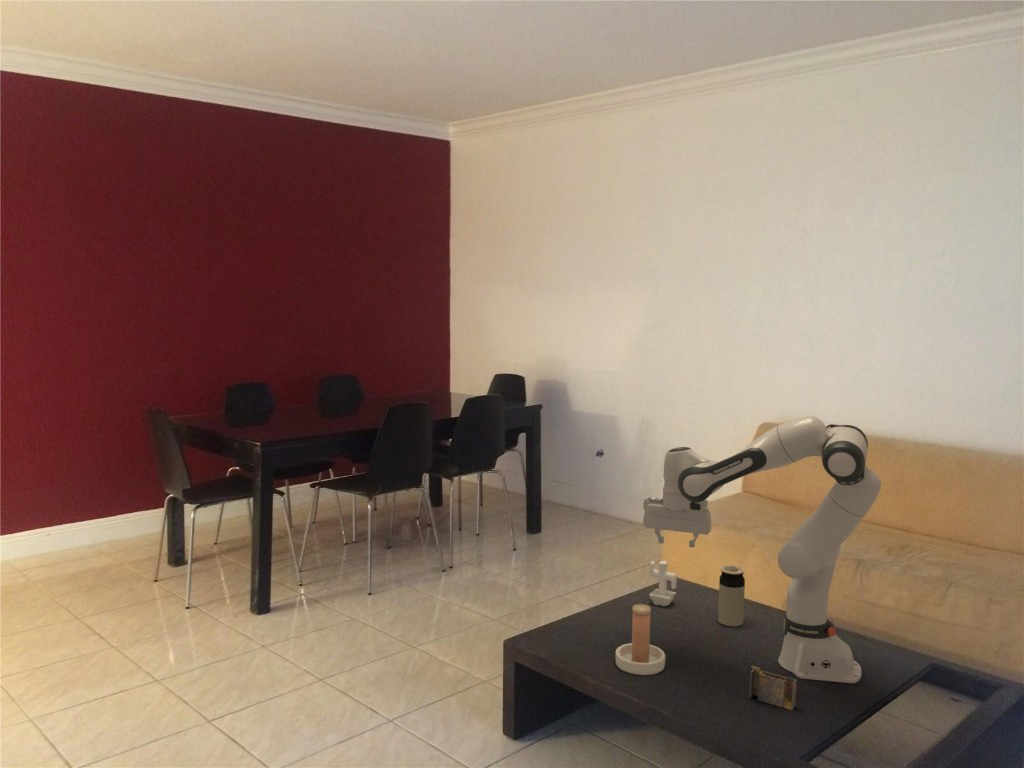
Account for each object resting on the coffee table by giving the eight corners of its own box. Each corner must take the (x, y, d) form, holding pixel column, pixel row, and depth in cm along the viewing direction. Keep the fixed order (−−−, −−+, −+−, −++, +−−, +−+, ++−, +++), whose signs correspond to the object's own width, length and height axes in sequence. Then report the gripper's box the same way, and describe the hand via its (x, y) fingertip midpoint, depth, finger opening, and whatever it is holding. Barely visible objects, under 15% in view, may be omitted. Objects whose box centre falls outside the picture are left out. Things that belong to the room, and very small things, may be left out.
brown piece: (748, 700, 221) (750, 665, 220) (752, 695, 224) (753, 661, 223) (792, 712, 215) (793, 676, 214) (795, 707, 218) (796, 672, 217)
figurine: (671, 609, 281) (673, 567, 280) (645, 604, 286) (646, 562, 284) (679, 603, 287) (680, 561, 286) (653, 597, 292) (654, 556, 290)
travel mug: (719, 626, 268) (721, 572, 266) (716, 616, 276) (718, 564, 274) (744, 627, 267) (747, 573, 265) (741, 618, 275) (743, 565, 272)
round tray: (669, 658, 245) (669, 647, 245) (658, 678, 232) (658, 667, 232) (622, 649, 250) (623, 639, 250) (610, 669, 237) (610, 659, 237)
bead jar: (651, 659, 242) (652, 605, 241) (646, 666, 238) (648, 612, 236) (633, 655, 244) (635, 603, 243) (629, 663, 240) (630, 609, 238)
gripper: (641, 499, 251) (640, 543, 253) (709, 506, 243) (708, 552, 245) (646, 494, 257) (645, 537, 259) (713, 501, 249) (711, 545, 251)
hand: (676, 544), depth 252 cm, fingers open, 8 cm apart
